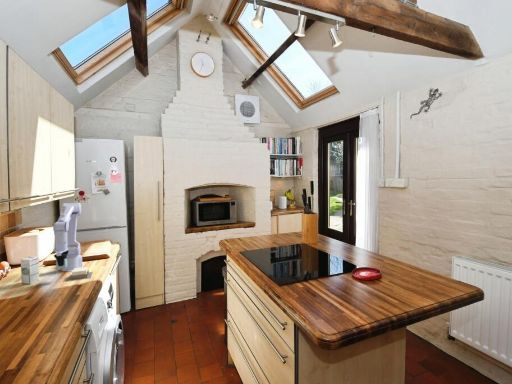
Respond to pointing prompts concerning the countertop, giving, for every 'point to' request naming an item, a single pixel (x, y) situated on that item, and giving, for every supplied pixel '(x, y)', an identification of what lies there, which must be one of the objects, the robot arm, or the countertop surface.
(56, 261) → the teal cube
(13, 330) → the countertop surface
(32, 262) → the syrup box
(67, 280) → the slate mat
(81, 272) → the cream slab
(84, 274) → the walnut slab
